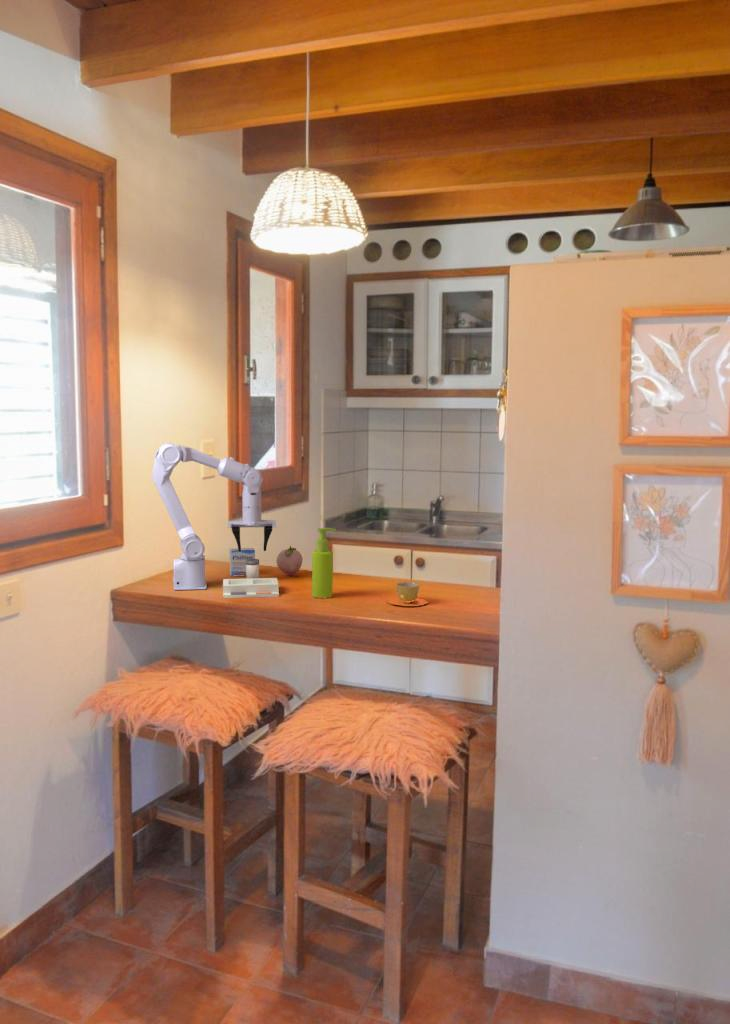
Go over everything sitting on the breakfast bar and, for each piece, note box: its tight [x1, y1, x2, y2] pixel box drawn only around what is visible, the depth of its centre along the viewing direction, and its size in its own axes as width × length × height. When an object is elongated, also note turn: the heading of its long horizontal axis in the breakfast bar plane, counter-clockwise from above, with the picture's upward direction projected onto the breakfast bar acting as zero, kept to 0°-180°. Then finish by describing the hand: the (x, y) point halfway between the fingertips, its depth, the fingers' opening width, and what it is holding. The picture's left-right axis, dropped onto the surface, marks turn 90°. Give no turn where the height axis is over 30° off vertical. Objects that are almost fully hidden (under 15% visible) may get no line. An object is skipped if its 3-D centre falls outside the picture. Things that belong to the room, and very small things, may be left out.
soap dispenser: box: [311, 527, 337, 599], centre depth 227 cm, size 6×7×20 cm
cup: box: [395, 581, 420, 601], centre depth 222 cm, size 12×12×5 cm
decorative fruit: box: [276, 545, 303, 577], centre depth 253 cm, size 9×8×10 cm
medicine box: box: [229, 547, 256, 577], centre depth 255 cm, size 8×4×9 cm, turn 104°
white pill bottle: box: [245, 558, 260, 579], centre depth 245 cm, size 4×4×7 cm
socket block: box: [222, 577, 280, 599], centre depth 231 cm, size 16×12×3 cm
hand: (252, 550), depth 241 cm, fingers open, 7 cm apart
